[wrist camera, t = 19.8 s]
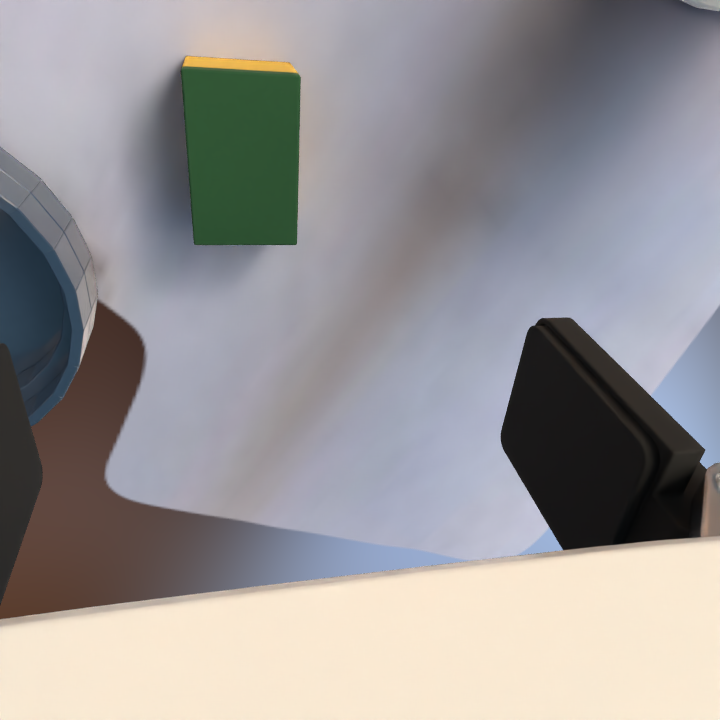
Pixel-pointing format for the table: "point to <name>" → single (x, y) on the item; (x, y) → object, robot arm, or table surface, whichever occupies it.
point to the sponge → (242, 150)
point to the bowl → (42, 288)
